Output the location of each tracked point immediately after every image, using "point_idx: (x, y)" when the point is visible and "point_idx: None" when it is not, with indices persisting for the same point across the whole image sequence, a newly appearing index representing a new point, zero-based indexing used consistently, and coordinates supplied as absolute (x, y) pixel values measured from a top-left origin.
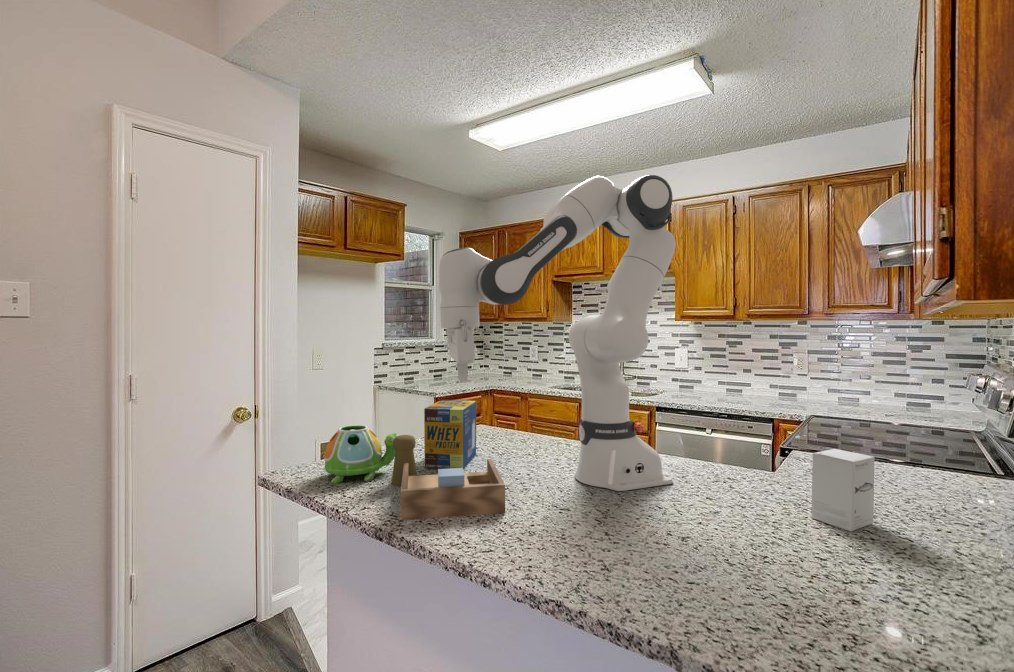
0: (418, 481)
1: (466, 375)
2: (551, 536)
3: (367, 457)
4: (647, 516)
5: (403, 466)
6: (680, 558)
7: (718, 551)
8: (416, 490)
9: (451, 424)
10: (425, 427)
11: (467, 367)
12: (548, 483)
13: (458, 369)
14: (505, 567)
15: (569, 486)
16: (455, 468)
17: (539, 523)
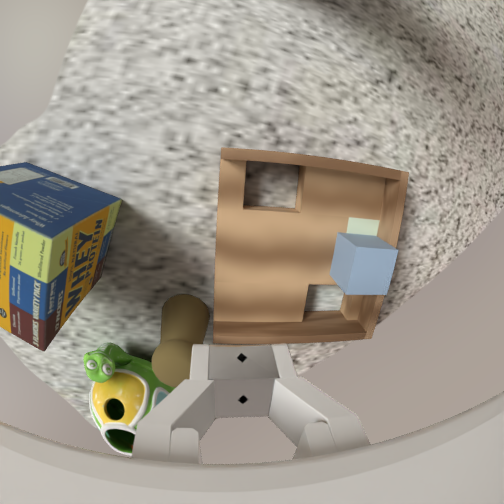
0: (252, 305)
1: (292, 367)
2: (454, 140)
3: (163, 393)
4: (424, 5)
5: (203, 338)
6: (496, 61)
7: (487, 25)
8: (377, 318)
9: (71, 259)
10: (66, 319)
11: (344, 408)
12: (262, 40)
13: (293, 440)
14: (482, 215)
15: (290, 15)
16: (355, 261)
17: (424, 135)
